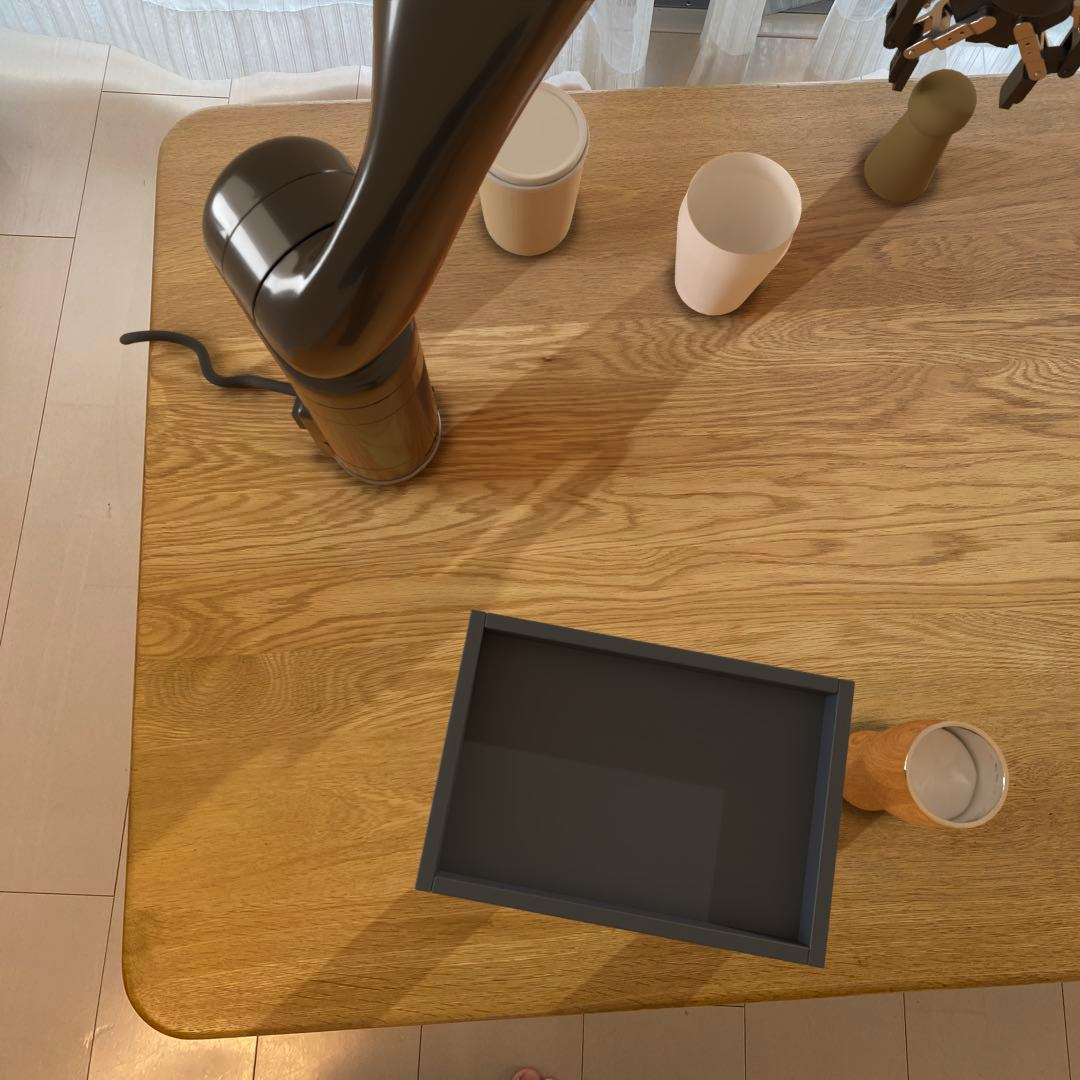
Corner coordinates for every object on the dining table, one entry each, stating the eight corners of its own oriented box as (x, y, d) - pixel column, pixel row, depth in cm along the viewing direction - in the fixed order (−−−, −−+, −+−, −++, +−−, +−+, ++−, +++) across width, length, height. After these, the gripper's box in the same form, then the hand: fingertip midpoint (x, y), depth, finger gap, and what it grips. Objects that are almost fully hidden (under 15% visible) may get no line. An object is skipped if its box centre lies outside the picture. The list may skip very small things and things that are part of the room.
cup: (781, 267, 82) (825, 187, 71) (731, 347, 80) (767, 278, 69) (693, 217, 83) (722, 129, 71) (641, 295, 81) (662, 218, 70)
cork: (926, 208, 84) (986, 128, 73) (859, 195, 84) (909, 113, 73) (933, 150, 85) (993, 63, 74) (867, 137, 85) (918, 49, 75)
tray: (453, 838, 71) (414, 889, 44) (488, 661, 74) (471, 608, 47) (708, 887, 70) (824, 969, 44) (732, 707, 74) (855, 681, 47)
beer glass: (888, 834, 72) (983, 854, 57) (809, 784, 72) (882, 792, 58) (928, 755, 73) (1031, 755, 58) (850, 707, 74) (932, 695, 59)
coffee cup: (527, 151, 84) (528, 54, 73) (602, 217, 83) (615, 129, 71) (453, 217, 83) (442, 128, 71) (528, 285, 81) (530, 206, 70)
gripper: (1180, -117, 59) (1041, 66, 75) (957, -154, 59) (866, 36, 75) (1176, -19, 58) (1035, 147, 73) (947, -57, 58) (856, 116, 74)
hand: (949, 91), depth 74 cm, fingers open, 8 cm apart
